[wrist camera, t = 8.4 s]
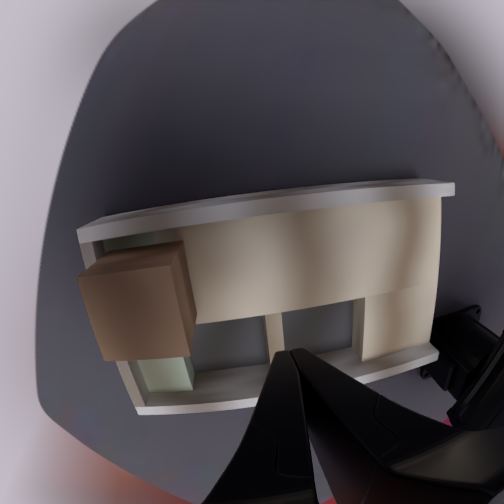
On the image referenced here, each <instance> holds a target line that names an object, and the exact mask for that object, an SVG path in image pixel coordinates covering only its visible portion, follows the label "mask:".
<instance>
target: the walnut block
mask: <svg viewBox="0 0 504 504" xmlns="http://www.w3.org/2000/svg"><path fill="white" fill-rule="evenodd" d="M77 280H78V283H79V287H80V290H81V294H82V297H83V300H84V304H85V307H86V310H87V313H88V316H89V319H90V322H91V325H92V328H93V331H94V334H95V337H96V339H97V342H98V345H99V348H100V350H101V353H102V355H103V358H104V360H105V361H131V360H149V359H164V358H177V357H188V356H191V351H192V344H193V337H194V331H195V324H196V318H197V310H196V305H195V300H194V295H193V290H192V285H191V280H190V274H189V269H188V263H187V258H186V252H185V246H184V241H183V240H180V241H173V242H166V243H159V244H152V245H145V246H138V247H132V248H125V249H119V250H112V251H108V252H107V253H106V254H105V255H103V256H102V257H101V258H100V259H99V260H97V261H96V262H95V263H94V264H92V265H91V266H90V267H89V268H88V269H86V270H85V271H84V272H83V273H82V274H81V275H79V276H78V277H77Z"/></svg>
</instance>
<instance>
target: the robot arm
mask: <svg viewBox="0 0 504 504" xmlns="http://www.w3.org/2000/svg"><path fill="white" fill-rule="evenodd" d="M480 314H481V307H480V306H478V305H476V306H473V307H470V308H467V309H464V310H461V311H458V312H455V313H452V314H449V315H446V316H443V317H440V318H437V319H434V320H433V323H432V329H431V335H430V341H429V342H430V343H431V344H432V345H433V346H434V347H435V348H436V349H437V350H438V351H439V355H438V359H437V360H436V361H434V362H431V363H428V364H426V365H423V366H422V369H421V374H420V376H421V377H422V378H423V379H426V378H429V377H432V378H433V379H434V380H435V381H436V383H437V384H438V385H439V386H440V387H441V388H442V389H443V390H444V391H447V390H448V391H449V392H450V394H451V395H452V396H453V397H454V398H455V399H456V400H457V401H456V403H455V404H454V405H453V406H452V408H450V409H449V410H448V411H447V412H446V413H447V415H448V417H449V420H450V422H451V424H452V426H449V425H446V424H444V423H441V422H439V421H436V420H434V419H431V418H429V417H426V416H424V415H421V414H419V413H417V412H414V411H412V410H410V409H408V408H405V407H403V406H401V405H400V404H398V403H396V402H394V401H392V400H390V399H388V398H387V397H385V396H383V395H381V394H380V395H379V393H378V392H376V391H374V390H373V389H371V388H369V387H368V386H366V385H364V384H363V383H361V382H359V381H357V380H356V379H354V378H352V377H351V376H349V375H348V374H346V373H344V372H343V371H341V370H339V369H338V368H336V367H334V366H333V365H331V364H330V363H328V362H326V361H325V360H323V359H321V358H320V357H318V356H317V355H315V354H313V353H312V352H310V351H309V350H307V349H306V348H304V347H299V348H294V349H290V351H289V350H282V351H277V352H275V354H274V356H273V359H272V362H271V365H270V368H269V370H268V373H267V376H266V379H265V382H264V384H263V387H262V390H261V392H260V395H259V398H258V401H257V403H256V406H255V409H254V411H253V414H252V416H251V419H250V422H249V424H248V426H247V429H246V432H245V434H244V436H243V438H242V441H241V443H240V445H239V447H238V449H237V451H236V452H235V454H234V456H233V458H232V459H231V461H230V463H229V464H228V466H227V467H226V469H225V470H224V472H223V474H222V475H221V477H220V478H219V480H218V481H217V483H216V484H215V486H214V487H213V489H212V490H211V492H210V493H209V495H208V496H207V497H206V499H205V500H204V501H203V502H202V503H201V504H319V502H318V499H317V493H316V487H315V481H314V472H313V464H312V457H311V449H310V442H309V438H310V441H311V443H312V446H313V448H314V450H315V453H316V455H317V458H318V460H319V463H320V465H321V468H322V470H323V472H324V475H325V477H326V480H327V482H328V484H329V487H330V489H331V492H332V494H333V496H334V499H335V501H336V503H337V504H504V330H503V331H502V332H503V333H502V335H501V337H499V336H497V335H496V334H495V333H493V332H492V331H490V330H489V329H488V328H486V327H485V326H484V325H482V324H481V323H480V322H479V319H480ZM435 324H436V325H435Z"/></svg>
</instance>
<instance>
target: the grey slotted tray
mask: <svg viewBox="0 0 504 504" xmlns="http://www.w3.org/2000/svg"><path fill="white" fill-rule="evenodd" d="M444 196H455V183H452V182H445V181H438V180H431V179H423V178H413V179H395V180H379V181H365V182H352V183H340V184H328V185H318V186H308V187H298V188H289V189H280V190H271V191H263V192H255V193H247V194H239V195H232V196H224V197H217V198H210V199H203V200H197V201H190V202H184V203H178V204H171V205H165V206H159V207H154V208H148V209H142V210H137V211H131V212H126V213H120V214H115V215H110V216H105V217H101V218H99V219H97V220H95V221H93V222H91V223H89V224H86V225H84V226H82V227H80V228H78V229H76V230H77V235H78V240H79V244H80V248H81V253H82V257H83V261H84V265H85V269H88V268H89V267H90V266H91V265H92V264H94V263H95V262H96V261H97V260H99V259H100V258H101V257H102V256H103V255H105V254H106V253H107V252H108V251H112V250H119V249H125V248H132V247H138V246H145V245H152V244H159V243H166V242H173V241H180V240H183V241H184V246H185V252H186V258H187V263H188V269H189V274H190V280H191V285H192V290H193V295H194V300H195V305H196V310H197V318H196V324H195V331H194V337H193V344H192V351H191V356H188V357H177V358H164V359H149V360H131V361H116V364H117V366H118V369H119V371H120V374H121V376H122V379H123V381H124V383H125V386H126V388H127V390H128V393H129V395H130V397H131V399H132V402H133V404H134V406H135V408H136V410H137V412H138V415H162V414H184V413H198V412H210V411H221V410H230V409H238V408H246V407H254V406H256V403H257V401H258V398H259V395H260V392H261V390H262V387H263V384H264V382H265V379H266V376H267V373H268V370H269V368H270V365H271V362H272V359H273V356H274V354H275V352H277V351H282V350H289V351H290V349H294V348H299V347H304V348H306V349H307V350H309V351H310V352H312V353H313V354H315V355H317V356H318V357H320V358H321V359H323V360H325V361H326V362H328V363H330V364H331V365H333V366H334V367H336V368H338V369H339V370H341V371H343V372H344V373H346V374H348V375H349V376H351V377H352V378H354V379H356V380H357V381H359V382H361V383H363V384H365V383H369V382H372V381H376V380H379V379H383V378H386V377H389V376H393V375H396V374H399V373H402V372H405V371H408V370H411V369H414V368H417V367H420V366H423V365H426V364H428V363H431V362H434V361H436V360H437V359H438V355H439V351H438V350H437V349H436V348H435V347H434V346H433V345H432V344H431V343H430V342H429V341H430V335H431V329H432V323H433V316H434V309H435V301H436V293H437V283H438V272H439V259H440V240H441V197H444Z"/></svg>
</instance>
